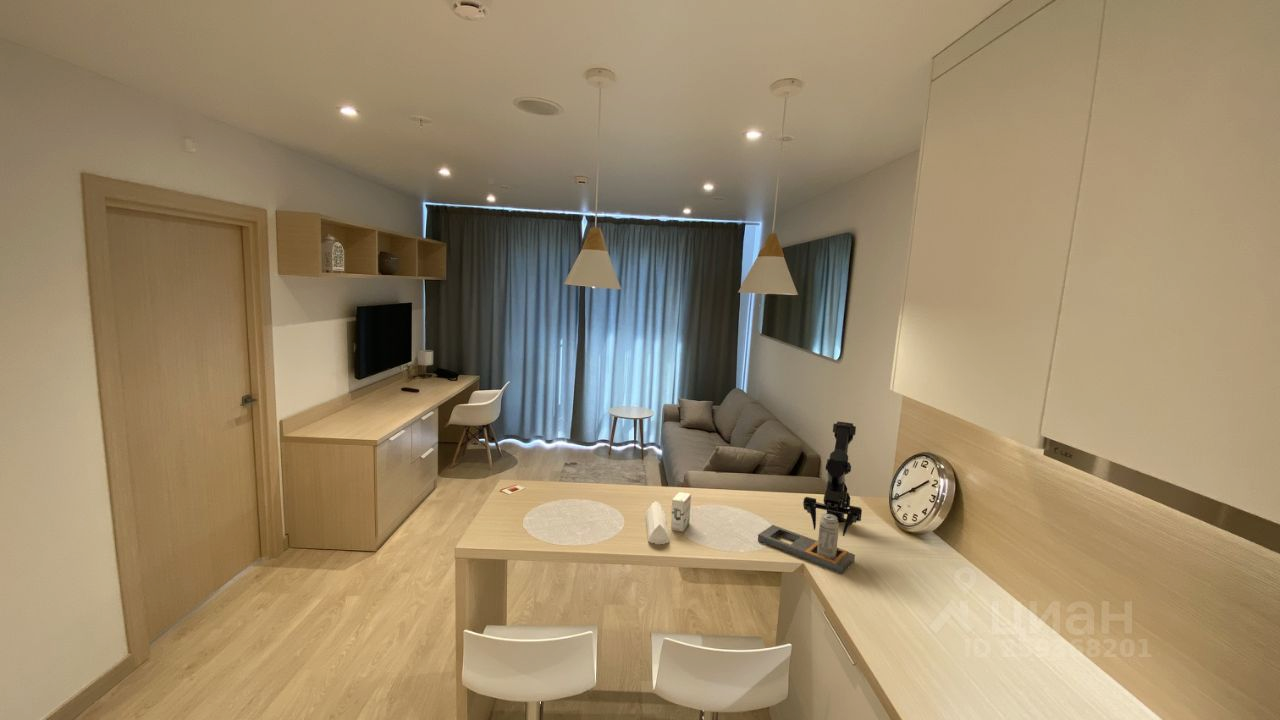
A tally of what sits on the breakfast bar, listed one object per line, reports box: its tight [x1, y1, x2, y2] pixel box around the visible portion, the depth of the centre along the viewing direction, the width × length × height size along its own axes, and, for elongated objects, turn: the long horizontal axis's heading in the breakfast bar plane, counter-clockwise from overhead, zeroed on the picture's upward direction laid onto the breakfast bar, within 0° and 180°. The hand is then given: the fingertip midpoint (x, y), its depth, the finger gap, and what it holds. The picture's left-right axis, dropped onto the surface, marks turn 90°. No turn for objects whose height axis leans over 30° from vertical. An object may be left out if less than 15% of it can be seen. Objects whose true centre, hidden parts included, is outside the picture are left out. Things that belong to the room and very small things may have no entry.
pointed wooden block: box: [645, 500, 670, 545], centre depth 187 cm, size 7×7×24 cm
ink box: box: [670, 491, 692, 532], centre depth 191 cm, size 9×5×12 cm, turn 157°
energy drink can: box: [816, 513, 840, 560], centre depth 170 cm, size 6×6×15 cm
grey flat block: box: [757, 524, 856, 575], centre depth 176 cm, size 30×11×3 cm, turn 48°
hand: (828, 532), depth 172 cm, fingers open, 9 cm apart
